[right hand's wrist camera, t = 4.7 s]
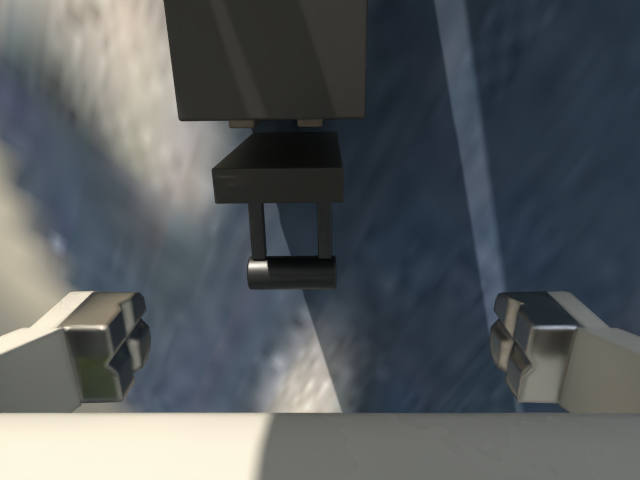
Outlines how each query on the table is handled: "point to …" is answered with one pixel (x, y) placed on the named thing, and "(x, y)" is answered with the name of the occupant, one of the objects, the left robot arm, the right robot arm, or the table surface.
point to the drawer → (284, 198)
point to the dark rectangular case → (268, 59)
